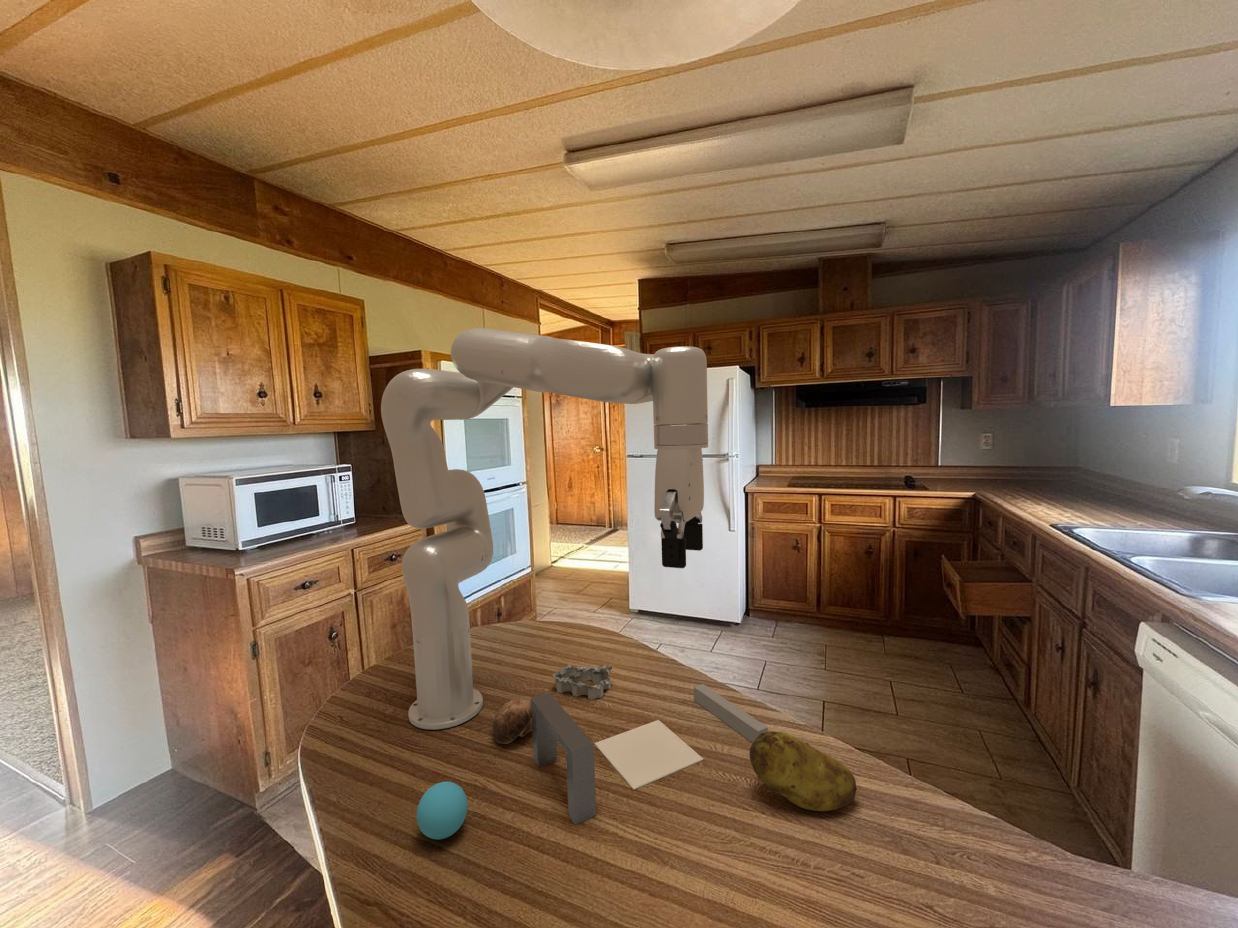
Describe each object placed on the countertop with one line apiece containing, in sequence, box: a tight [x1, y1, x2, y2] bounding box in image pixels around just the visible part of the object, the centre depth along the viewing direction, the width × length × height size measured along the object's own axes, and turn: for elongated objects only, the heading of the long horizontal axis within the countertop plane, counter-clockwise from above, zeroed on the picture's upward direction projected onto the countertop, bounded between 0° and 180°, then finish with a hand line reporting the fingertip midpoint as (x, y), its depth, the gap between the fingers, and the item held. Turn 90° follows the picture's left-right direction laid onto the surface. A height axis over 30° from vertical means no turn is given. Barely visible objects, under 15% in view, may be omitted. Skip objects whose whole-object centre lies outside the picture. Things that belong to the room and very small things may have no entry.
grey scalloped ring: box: [551, 664, 613, 701], centre depth 100 cm, size 10×7×4 cm
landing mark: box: [594, 719, 704, 790], centre depth 80 cm, size 12×12×1 cm
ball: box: [416, 781, 468, 840], centre depth 65 cm, size 6×6×6 cm
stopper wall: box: [693, 683, 769, 744], centre depth 88 cm, size 16×2×2 cm, turn 29°
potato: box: [749, 731, 857, 812], centre depth 69 cm, size 8×13×8 cm, turn 58°
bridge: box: [530, 692, 597, 826], centre depth 73 cm, size 3×15×10 cm, turn 29°
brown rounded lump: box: [492, 697, 532, 745], centre depth 85 cm, size 8×8×6 cm
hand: (683, 557), depth 75 cm, fingers open, 9 cm apart
